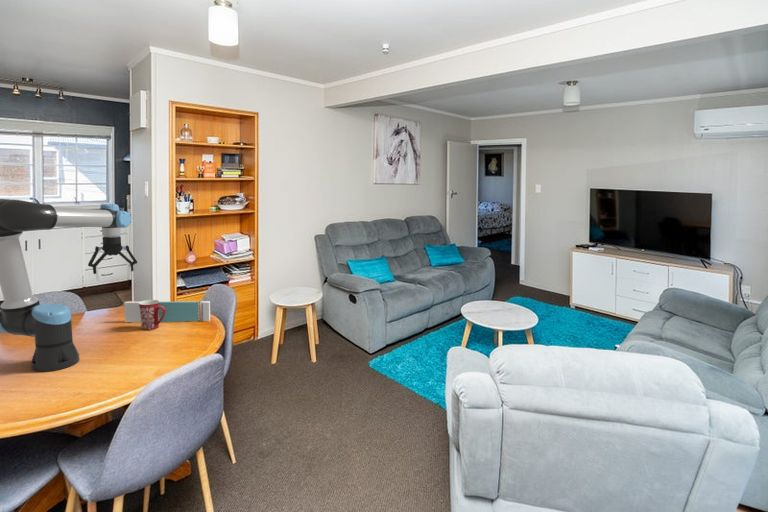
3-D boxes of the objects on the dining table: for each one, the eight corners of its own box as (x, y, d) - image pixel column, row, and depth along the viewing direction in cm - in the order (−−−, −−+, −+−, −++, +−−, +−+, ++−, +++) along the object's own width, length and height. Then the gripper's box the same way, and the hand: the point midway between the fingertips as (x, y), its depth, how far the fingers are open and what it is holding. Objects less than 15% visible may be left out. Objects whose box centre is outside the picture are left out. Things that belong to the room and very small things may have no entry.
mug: (135, 330, 209) (134, 303, 207) (148, 324, 218) (146, 298, 216) (159, 332, 207) (157, 305, 205) (171, 326, 216) (169, 300, 214)
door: (196, 322, 224) (196, 303, 222) (158, 323, 221) (157, 303, 219) (198, 320, 227) (198, 301, 225) (160, 320, 224) (159, 301, 222)
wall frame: (209, 321, 226) (208, 301, 224) (125, 322, 219) (124, 301, 218) (210, 320, 228) (209, 300, 226) (127, 321, 221) (126, 300, 220)
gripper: (140, 234, 217) (142, 275, 220) (79, 236, 202) (83, 279, 205) (142, 236, 211) (144, 278, 214) (80, 238, 196) (83, 283, 199)
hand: (114, 279), depth 210 cm, fingers open, 13 cm apart
